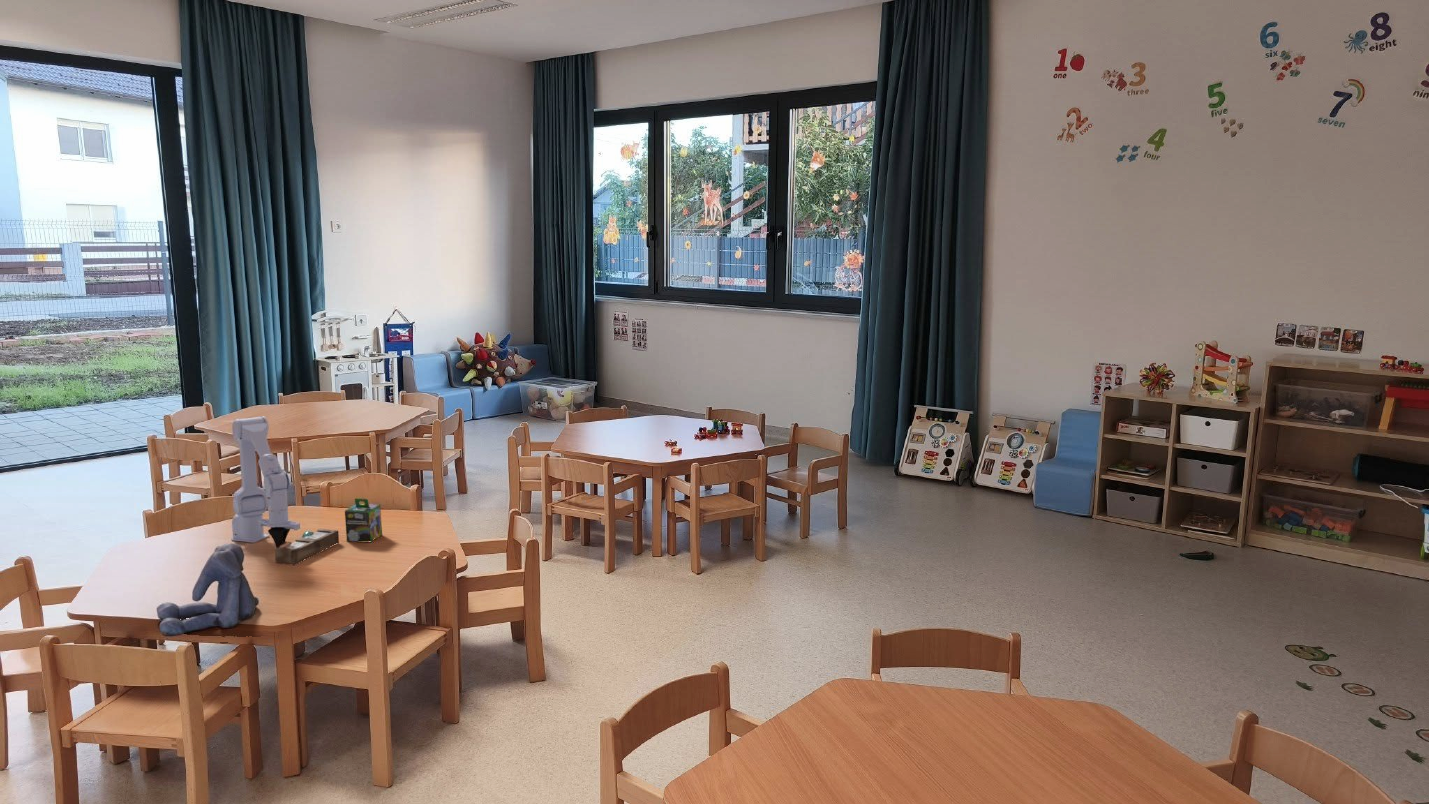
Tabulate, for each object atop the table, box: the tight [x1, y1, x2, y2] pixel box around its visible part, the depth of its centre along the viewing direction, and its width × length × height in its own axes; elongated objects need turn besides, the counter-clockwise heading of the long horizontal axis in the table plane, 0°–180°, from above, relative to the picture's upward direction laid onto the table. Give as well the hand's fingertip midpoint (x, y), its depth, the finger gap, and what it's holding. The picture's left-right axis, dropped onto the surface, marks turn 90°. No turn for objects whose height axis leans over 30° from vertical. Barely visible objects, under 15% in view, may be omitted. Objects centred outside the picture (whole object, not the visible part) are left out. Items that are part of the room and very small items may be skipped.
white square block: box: [279, 540, 307, 549], centre depth 303 cm, size 7×7×5 cm
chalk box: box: [344, 497, 383, 542], centre depth 323 cm, size 9×9×15 cm
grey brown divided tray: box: [274, 528, 340, 566], centre depth 308 cm, size 7×23×5 cm, turn 166°
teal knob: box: [301, 530, 329, 539], centre depth 314 cm, size 7×7×5 cm
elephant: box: [156, 542, 260, 637], centre depth 252 cm, size 21×25×21 cm
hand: (280, 548), depth 304 cm, fingers closed
